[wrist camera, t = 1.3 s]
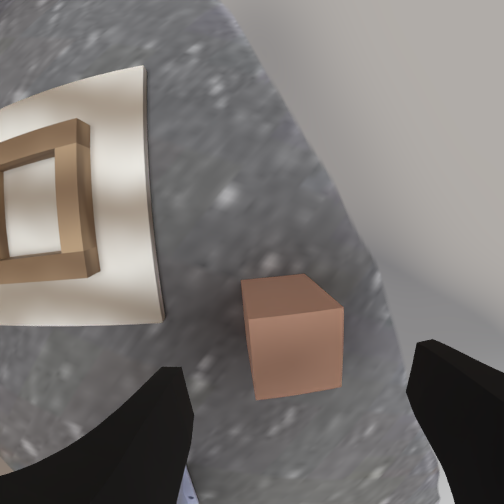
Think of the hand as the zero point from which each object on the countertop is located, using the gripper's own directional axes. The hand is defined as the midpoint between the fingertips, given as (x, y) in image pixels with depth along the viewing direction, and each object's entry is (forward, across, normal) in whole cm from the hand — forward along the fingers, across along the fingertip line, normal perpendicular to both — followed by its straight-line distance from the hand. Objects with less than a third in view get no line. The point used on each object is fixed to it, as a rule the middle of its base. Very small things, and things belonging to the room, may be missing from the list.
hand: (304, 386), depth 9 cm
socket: (+10, +15, -6) cm, 19 cm away
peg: (+11, 0, +2) cm, 11 cm away
